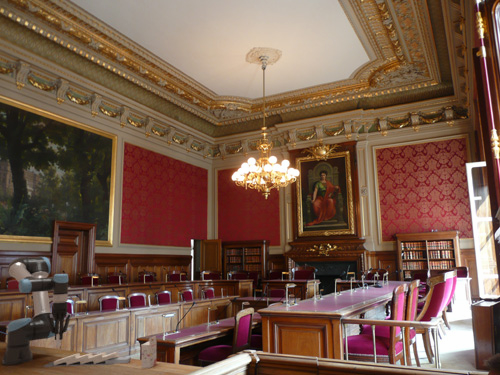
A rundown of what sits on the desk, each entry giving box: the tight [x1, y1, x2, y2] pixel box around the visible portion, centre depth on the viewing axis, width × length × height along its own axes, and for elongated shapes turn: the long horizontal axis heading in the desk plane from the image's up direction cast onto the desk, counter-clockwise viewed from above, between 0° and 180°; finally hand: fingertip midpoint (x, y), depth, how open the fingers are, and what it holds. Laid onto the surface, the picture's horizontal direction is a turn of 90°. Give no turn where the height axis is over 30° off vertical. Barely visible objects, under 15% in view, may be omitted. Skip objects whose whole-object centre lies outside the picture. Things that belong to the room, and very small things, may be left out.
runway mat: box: [42, 360, 116, 368], centre depth 229 cm, size 38×10×1 cm, turn 90°
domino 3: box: [80, 351, 107, 364], centre depth 230 cm, size 2×6×12 cm
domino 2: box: [66, 352, 94, 365], centre depth 229 cm, size 2×6×12 cm
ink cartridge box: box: [140, 335, 157, 369], centre depth 222 cm, size 9×5×15 cm, turn 168°
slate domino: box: [105, 356, 132, 365], centre depth 229 cm, size 2×6×12 cm
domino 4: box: [93, 350, 120, 364], centre depth 230 cm, size 2×6×12 cm
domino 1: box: [52, 352, 81, 365], centre depth 229 cm, size 2×6×12 cm
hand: (58, 346), depth 231 cm, fingers closed
